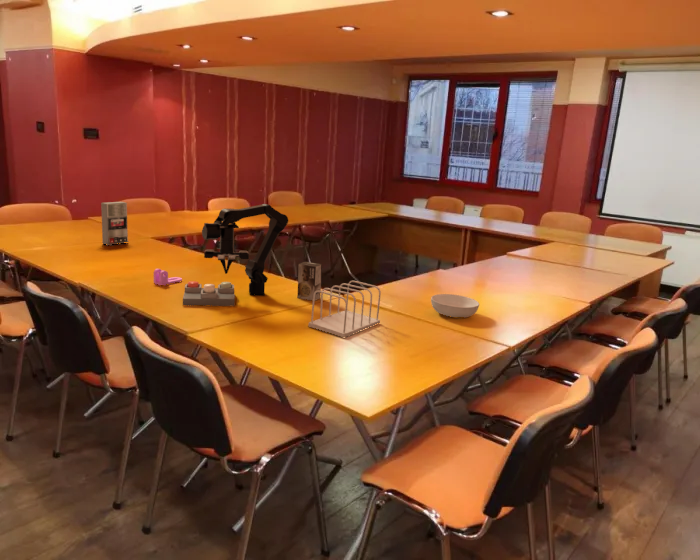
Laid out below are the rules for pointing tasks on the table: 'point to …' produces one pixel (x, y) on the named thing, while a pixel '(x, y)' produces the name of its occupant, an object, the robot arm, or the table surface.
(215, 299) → the control panel
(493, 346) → the table surface
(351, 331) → the file sorter
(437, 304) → the serving bowl
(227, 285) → the sage button
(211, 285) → the cream button
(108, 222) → the cassette tape recorder
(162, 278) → the bracket
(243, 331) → the table surface
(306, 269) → the coffee box
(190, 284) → the red button
